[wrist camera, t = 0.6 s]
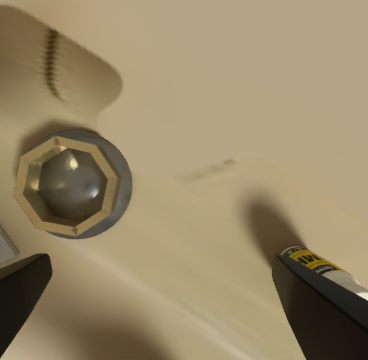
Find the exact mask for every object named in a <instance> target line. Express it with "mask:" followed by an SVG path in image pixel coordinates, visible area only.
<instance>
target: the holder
mask: <svg viewBox="0 0 368 360" xmlns="http://www.w3.org/2000/svg"><path fill="white" fill-rule="evenodd" d="M131 195H132V175H131V171H130V168H129V166H128V163H127V161H126V159H125V158H124V156H123V155H122V153H121V152H120V151H119V150H118V149H117V148H116V147H115V146H114V145H113V144H112V143H111V142H109V141H108V140H106V139H104V138H103V137H101V136H98V135H96V134H94V133H91V132H87V131H81V130H65V131H60V132H56V133H54V134H51V135H49V136H47V137H45V138H43V139H42V140H40V141H39V142H37V143H36V144H35V145H34V146H33V147H32V148H31V149H30V151H29V152H28V153H26V154H25V155H23V156H21V157H20V162H19V167H18V172H17V177H16V183H15V188H14V193H13V197H14V198H15V200H16V201H17V203H18V204H19V205H20V207H21V208H22V210H23V211H24V212H25V214H26V215H27V217H28V218H29V219H30V221H31V222H32V223H33V225H34V226H35V228H36V229H40V230H45V231H47V232H49V233H50V234H53V235H55V236H58V237H62V238H67V239H84V238H89V237H93V236H96V235H98V234H101V233H103V232H104V231H106V230H108V229H109V228H110V227H112V226H113V225H114V224H115V223H116V222H117V221H118V220H119V219H120V218H121V217H122V215H123V214H124V212H125V211H126V209H127V207H128V205H129V202H130V199H131Z"/></svg>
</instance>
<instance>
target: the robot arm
mask: <svg viewBox="0 0 368 360" xmlns="http://www.w3.org/2000/svg"><path fill="white" fill-rule="evenodd" d="M51 277H52V266H51V261H50V256H49V255H48V254H35V255H32V256H30V257H28V258H25V259H23V260H20V261H18V262H15V263H13V264H11V265H8V266H6V267H3V268H1V269H0V358H1V357H2V355H3V354H4V352H5V351H6V349H7V348H8V346H9V345H10V343H11V342H12V341H13V339H14V338H15V336H16V335H17V333H18V332H19V330H20V329H21V327H22V326H23V325H24V323H25V322H26V320H27V318H28V317H29V315H30V314H31V312H32V310H33V309H34V307H35V305H36V303H37V302H38V300H39V298H40V296H41V295H42V293H43V291H44V289H45V288H46V286H47V284H48V282H49V281H50V279H51ZM272 278H273V281H274V284H275V287H276V290H277V292H278V295H279V298H280V301H281V304H282V306H283V309H284V312H285V315H286V317H287V320H288V322H289V324H290V326H291V328H292V331H293V333H294V335H295V337H296V339H297V341H298V343H299V345H300V348H301V350H302V352H303V354H304V356H305V358H306V360H368V300H366V299H364V298H362V297H361V296H359V295H357V294H355V293H353V292H352V291H350V290H348V289H346V288H345V287H343V286H341V285H339V284H337V283H336V282H334V281H332V280H330V279H328V278H327V277H325V276H323V275H321V274H319V273H318V272H316V271H314V270H312V269H310V268H309V267H307V266H305V265H303V264H301V263H300V262H298V261H296V260H294V259H292V258H291V257H289V256H287V255H275V256H274V259H273V268H272Z"/></svg>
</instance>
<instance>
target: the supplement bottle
mask: <svg viewBox="0 0 368 360" xmlns="http://www.w3.org/2000/svg"><path fill="white" fill-rule="evenodd" d="M280 255H287V256H289V257H291V258H292V259H294V260H296V261H298V262H300V263H301V264H303V265H305V266H307V267H309V268H310V269H312V270H314V271H316V272H318V273H319V274H321V275H323V276H325V277H327V278H328V279H330V280H332V281H334V282H336V283H337V284H339V285H341V286H343V287H345V288H346V289H348V290H350V291H352V292H353V293H355V294H357V295H359V296H361V297H362V298H364V299H366V300H368V290H367V289H365V288H364V287H363V286H361V285H360V283H359V282H358V281H357V279H356V278H354V277H353V276H352V275H351V274H349V273H348V272H346V271H344V270H342V269H341V268H339V267H337V266H336V265H334V264H332V263H330V262H329V261H327V260H325V259H324V258H322V257H320V256H318V255H317V254H315V253H313V252H312V251H310V250H308V249H306V248H304V247H300V246H292V247H289V248H287V249H285V250H284V251H283V252H282V253H281V254H280Z"/></svg>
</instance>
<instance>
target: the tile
mask: <svg viewBox="0 0 368 360" xmlns="http://www.w3.org/2000/svg"><path fill="white" fill-rule="evenodd" d="M18 253H19V251H18V250H17V248H16V247H15V246H14V244H13V243H12V241H11V240H10V239H9V237H8V236H7V234H6V233H5V232H4V230H3V229H2V227H1V226H0V264H2V263H3V262H5V261H7V260H8V259H10V258H12V257H13V256H15V255H16V254H18Z"/></svg>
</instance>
